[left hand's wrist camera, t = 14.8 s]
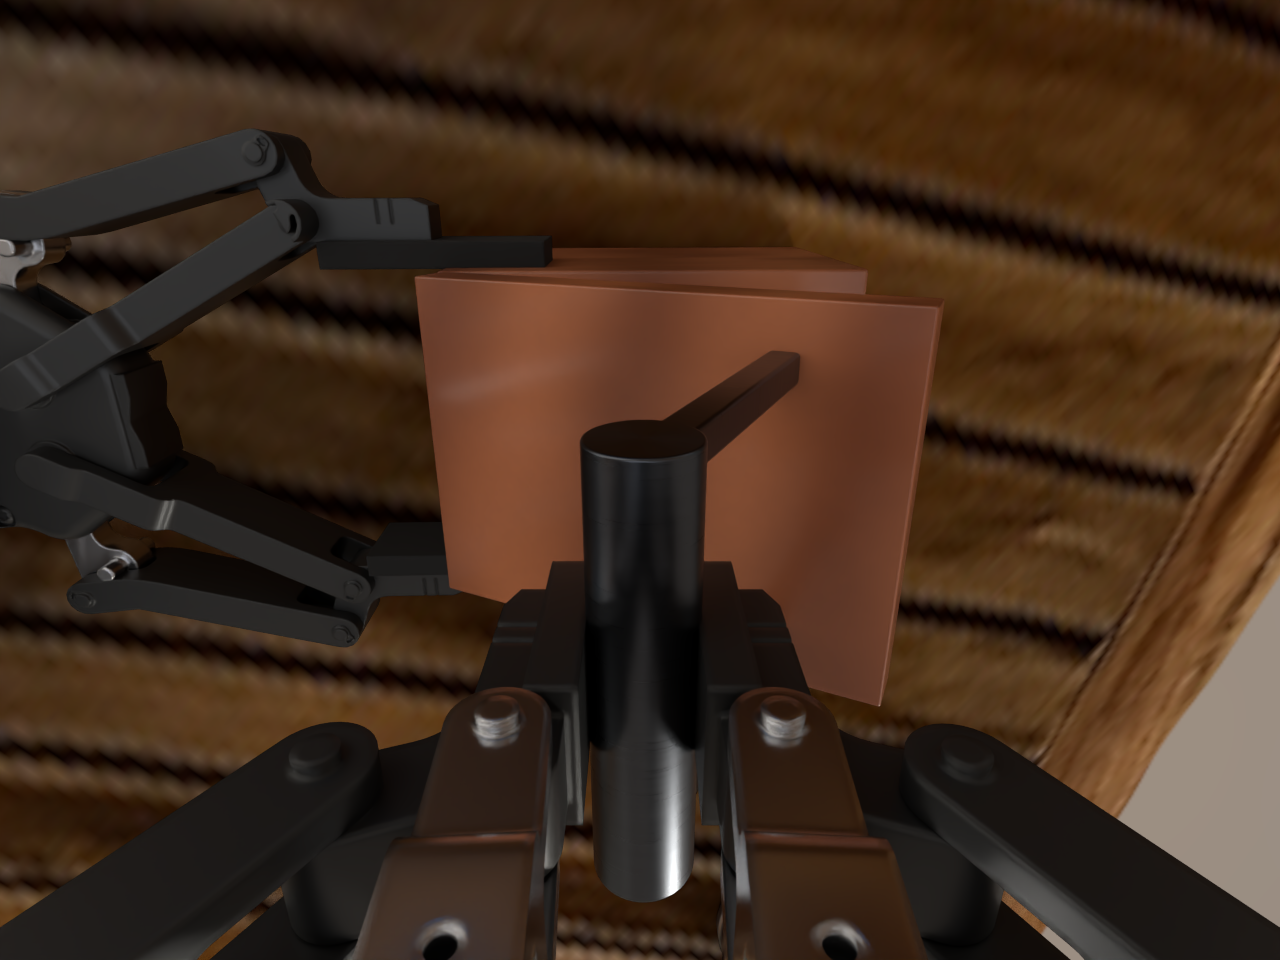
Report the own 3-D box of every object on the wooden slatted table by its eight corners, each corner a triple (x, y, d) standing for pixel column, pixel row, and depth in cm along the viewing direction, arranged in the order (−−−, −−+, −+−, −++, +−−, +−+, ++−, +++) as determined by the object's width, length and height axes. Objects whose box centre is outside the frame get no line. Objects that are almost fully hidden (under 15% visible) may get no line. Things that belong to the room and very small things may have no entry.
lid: (944, 298, 15) (869, 410, 7) (888, 677, 18) (797, 1022, 11) (445, 271, 20) (97, 320, 12) (474, 570, 24) (217, 750, 16)
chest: (797, 246, 29) (869, 269, 20) (780, 467, 32) (836, 563, 24) (489, 248, 29) (435, 271, 20) (506, 470, 32) (466, 568, 24)
